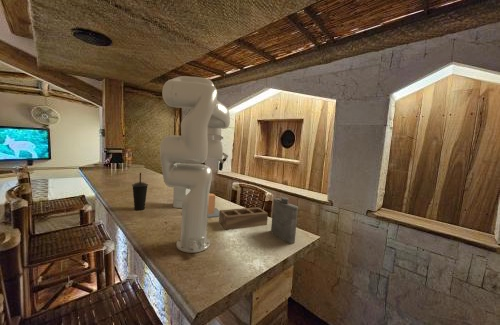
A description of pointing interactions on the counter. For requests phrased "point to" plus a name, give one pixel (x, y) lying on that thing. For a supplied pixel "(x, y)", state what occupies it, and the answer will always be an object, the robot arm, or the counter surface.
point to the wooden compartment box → (242, 218)
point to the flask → (284, 219)
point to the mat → (215, 214)
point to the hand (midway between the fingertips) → (211, 170)
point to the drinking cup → (139, 195)
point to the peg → (211, 204)
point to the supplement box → (179, 196)
